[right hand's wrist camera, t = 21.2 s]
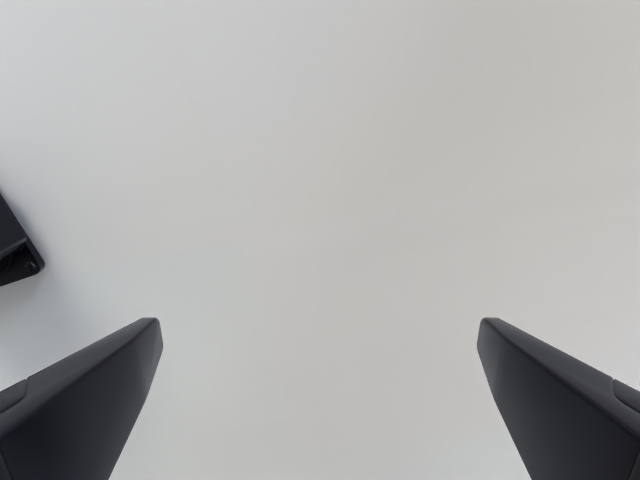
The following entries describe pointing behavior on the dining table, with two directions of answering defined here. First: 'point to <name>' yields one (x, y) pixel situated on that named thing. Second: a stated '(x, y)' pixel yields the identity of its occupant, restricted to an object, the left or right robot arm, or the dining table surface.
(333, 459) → the dining table surface
